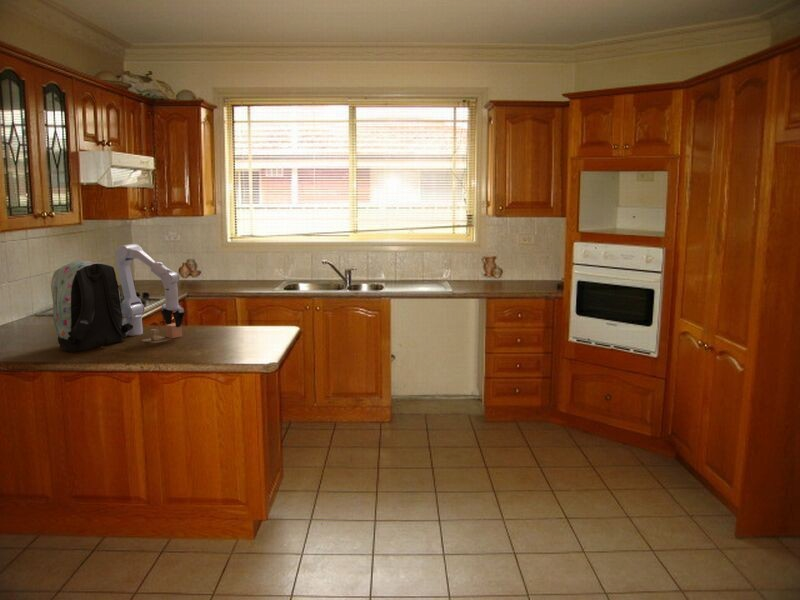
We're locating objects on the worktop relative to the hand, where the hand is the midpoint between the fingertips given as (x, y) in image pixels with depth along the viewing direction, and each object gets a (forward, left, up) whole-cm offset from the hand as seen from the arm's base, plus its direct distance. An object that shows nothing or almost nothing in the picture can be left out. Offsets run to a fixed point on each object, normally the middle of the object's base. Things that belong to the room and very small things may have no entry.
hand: (173, 325), depth 312 cm
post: (-1, -10, -5) cm, 11 cm away
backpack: (-20, -31, -6) cm, 37 cm away
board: (-1, -9, -6) cm, 10 cm away
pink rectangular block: (0, 0, -6) cm, 6 cm away
